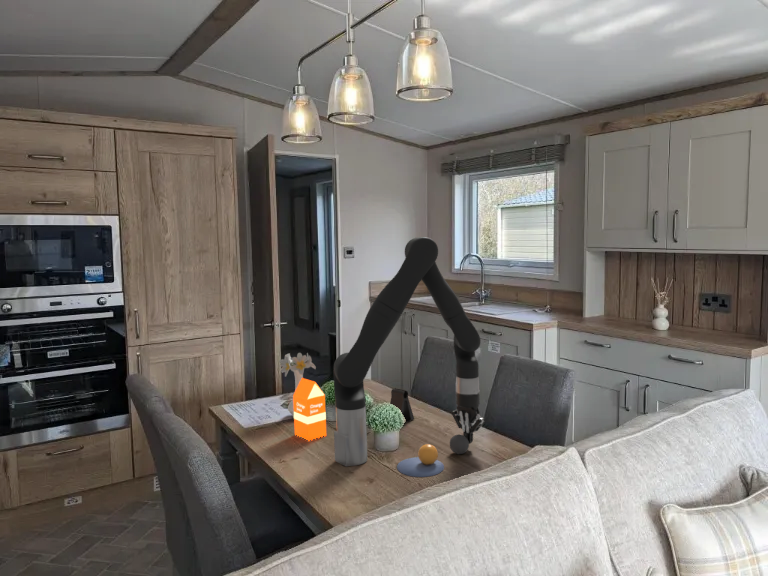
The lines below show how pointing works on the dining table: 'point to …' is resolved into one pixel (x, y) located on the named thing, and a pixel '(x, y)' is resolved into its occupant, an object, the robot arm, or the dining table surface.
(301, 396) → the orange juice
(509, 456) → the dining table surface
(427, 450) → the orange ball
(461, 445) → the gray ball
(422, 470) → the blue plate
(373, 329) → the robot arm
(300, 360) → the flower vase
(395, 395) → the door stopper
